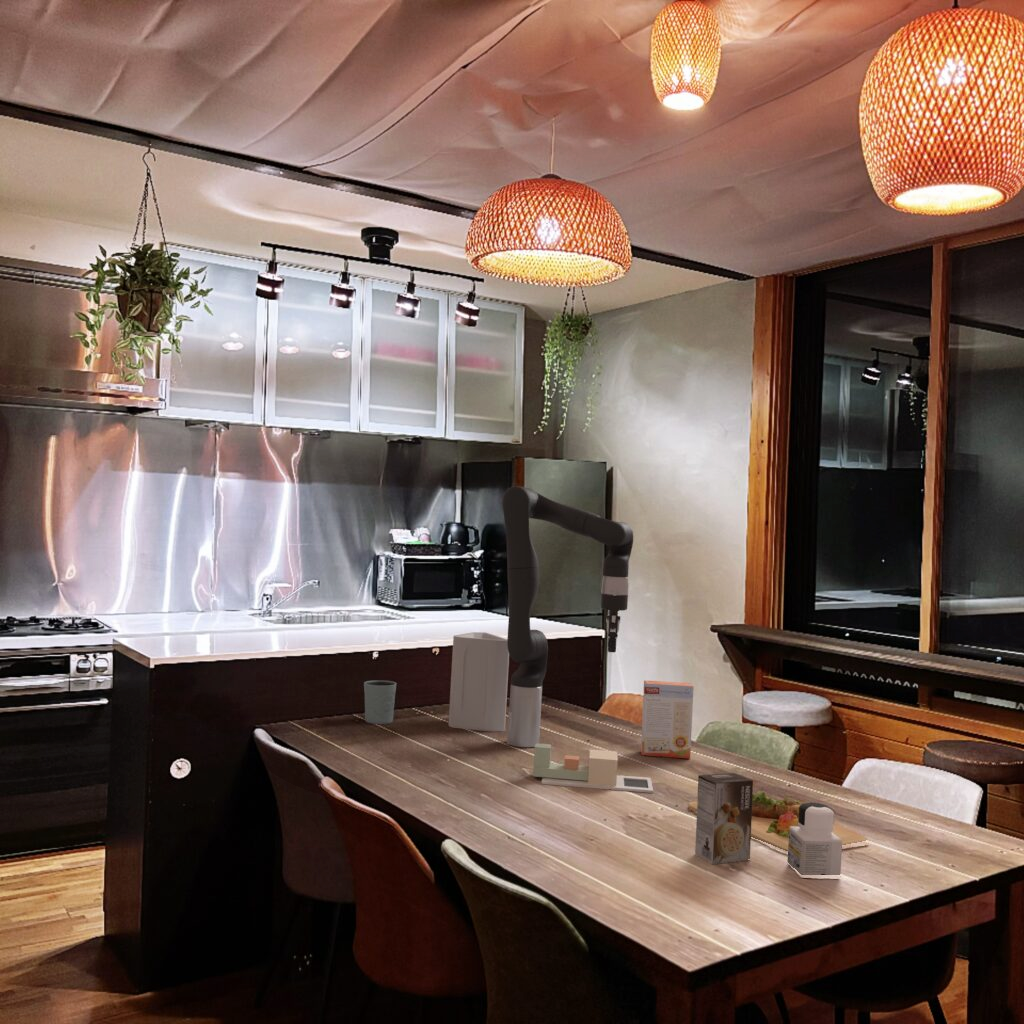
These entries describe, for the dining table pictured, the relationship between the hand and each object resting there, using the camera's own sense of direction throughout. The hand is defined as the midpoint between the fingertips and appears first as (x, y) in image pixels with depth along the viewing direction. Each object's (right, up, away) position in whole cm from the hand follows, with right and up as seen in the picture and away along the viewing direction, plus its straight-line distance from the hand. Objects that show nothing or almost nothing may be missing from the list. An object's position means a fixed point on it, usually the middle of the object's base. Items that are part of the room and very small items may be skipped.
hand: (611, 650), depth 270 cm
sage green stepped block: (-16, -28, -26) cm, 41 cm away
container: (+31, -31, -84) cm, 94 cm away
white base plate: (-6, -30, -27) cm, 41 cm away
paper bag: (-41, -28, +32) cm, 59 cm away
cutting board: (+31, -32, -55) cm, 71 cm away
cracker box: (+16, -31, +6) cm, 36 cm away
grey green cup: (-70, -27, +30) cm, 81 cm away
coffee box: (+14, -31, -78) cm, 85 cm away
